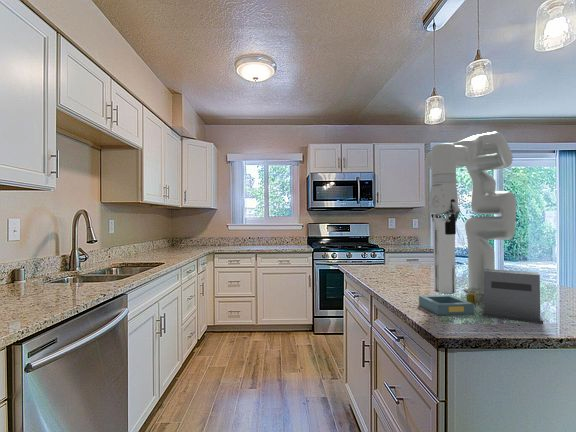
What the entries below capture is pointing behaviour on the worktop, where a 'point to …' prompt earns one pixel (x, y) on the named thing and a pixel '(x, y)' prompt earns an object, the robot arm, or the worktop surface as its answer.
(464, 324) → the worktop surface
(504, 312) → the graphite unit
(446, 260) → the white tall cylinder
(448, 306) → the socket block
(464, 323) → the worktop surface
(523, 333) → the worktop surface
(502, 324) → the worktop surface
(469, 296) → the medication box
